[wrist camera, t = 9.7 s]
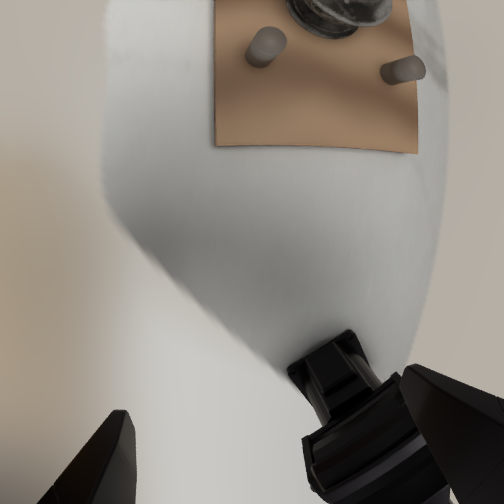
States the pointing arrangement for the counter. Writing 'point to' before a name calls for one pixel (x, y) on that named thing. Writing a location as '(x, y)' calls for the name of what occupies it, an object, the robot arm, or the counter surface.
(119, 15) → the counter surface
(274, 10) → the peg board
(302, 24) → the dark grey turned piece
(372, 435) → the robot arm
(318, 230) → the counter surface
